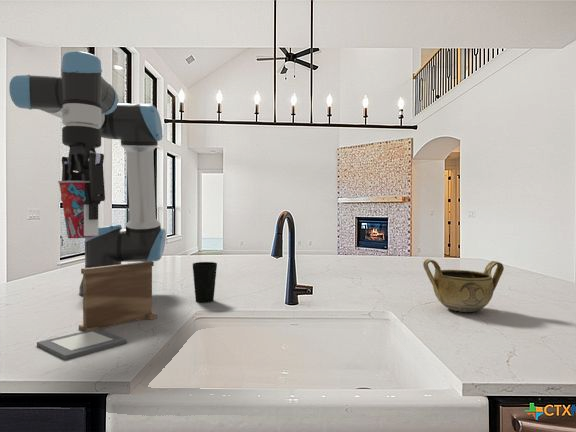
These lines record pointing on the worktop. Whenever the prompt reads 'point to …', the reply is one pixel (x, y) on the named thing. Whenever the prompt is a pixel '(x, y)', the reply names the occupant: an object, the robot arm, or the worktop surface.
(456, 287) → the ceramic bowl
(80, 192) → the cup
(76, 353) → the mat
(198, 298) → the cup
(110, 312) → the screen
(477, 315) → the worktop surface
